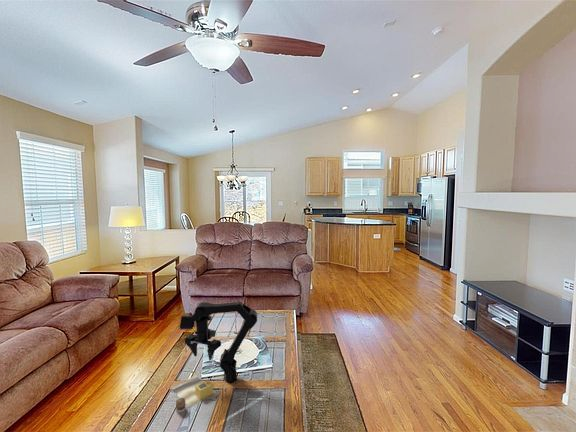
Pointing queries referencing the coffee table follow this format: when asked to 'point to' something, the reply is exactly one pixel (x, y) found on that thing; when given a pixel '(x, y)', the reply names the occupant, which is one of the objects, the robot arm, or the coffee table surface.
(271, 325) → the coffee table surface
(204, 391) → the block
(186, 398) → the plywood panel
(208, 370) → the coffee table surface
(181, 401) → the peg
